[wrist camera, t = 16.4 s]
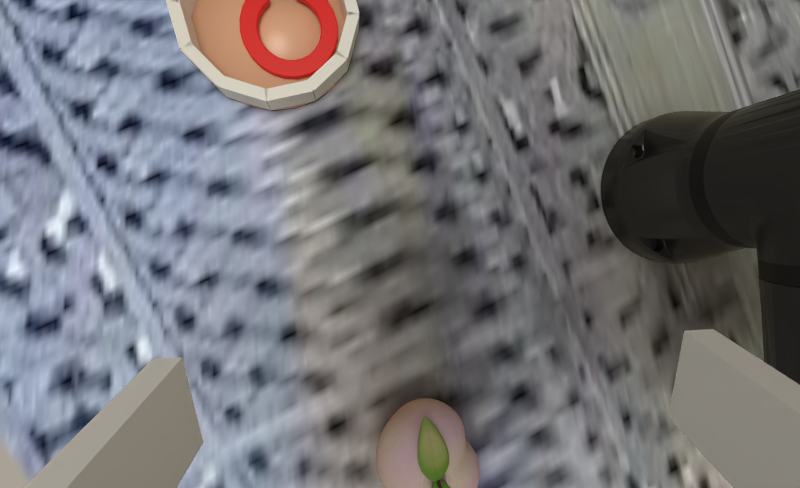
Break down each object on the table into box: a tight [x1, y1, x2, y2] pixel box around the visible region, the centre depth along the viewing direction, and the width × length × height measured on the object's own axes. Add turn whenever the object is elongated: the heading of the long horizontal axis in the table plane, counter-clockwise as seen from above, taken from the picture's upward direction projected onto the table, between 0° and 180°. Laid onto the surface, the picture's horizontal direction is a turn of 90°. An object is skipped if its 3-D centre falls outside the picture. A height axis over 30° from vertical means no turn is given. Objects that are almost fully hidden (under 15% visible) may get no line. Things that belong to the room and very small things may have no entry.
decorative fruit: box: [376, 398, 480, 488], centre depth 34 cm, size 9×8×10 cm
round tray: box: [166, 0, 359, 110], centre depth 34 cm, size 15×15×3 cm
